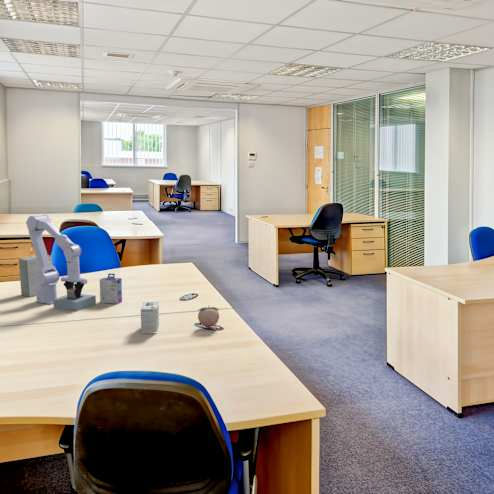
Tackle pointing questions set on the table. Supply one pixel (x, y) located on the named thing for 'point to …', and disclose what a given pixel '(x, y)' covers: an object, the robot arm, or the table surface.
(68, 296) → the two-tone metal cube
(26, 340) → the table surface
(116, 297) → the ink cartridge box
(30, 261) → the hard drive box
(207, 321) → the decorative fruit
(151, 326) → the light bulb box
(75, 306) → the well block
